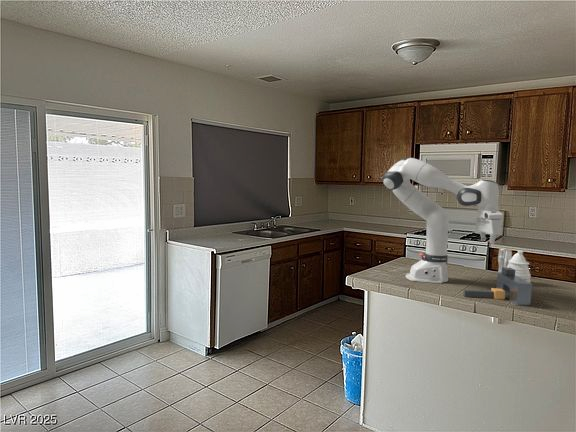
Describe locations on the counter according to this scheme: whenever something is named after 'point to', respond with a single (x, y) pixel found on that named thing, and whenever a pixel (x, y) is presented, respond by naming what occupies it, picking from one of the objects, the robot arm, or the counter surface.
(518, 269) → the honey pot
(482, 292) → the plug
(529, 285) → the grey block
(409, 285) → the counter surface
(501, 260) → the beer glass
